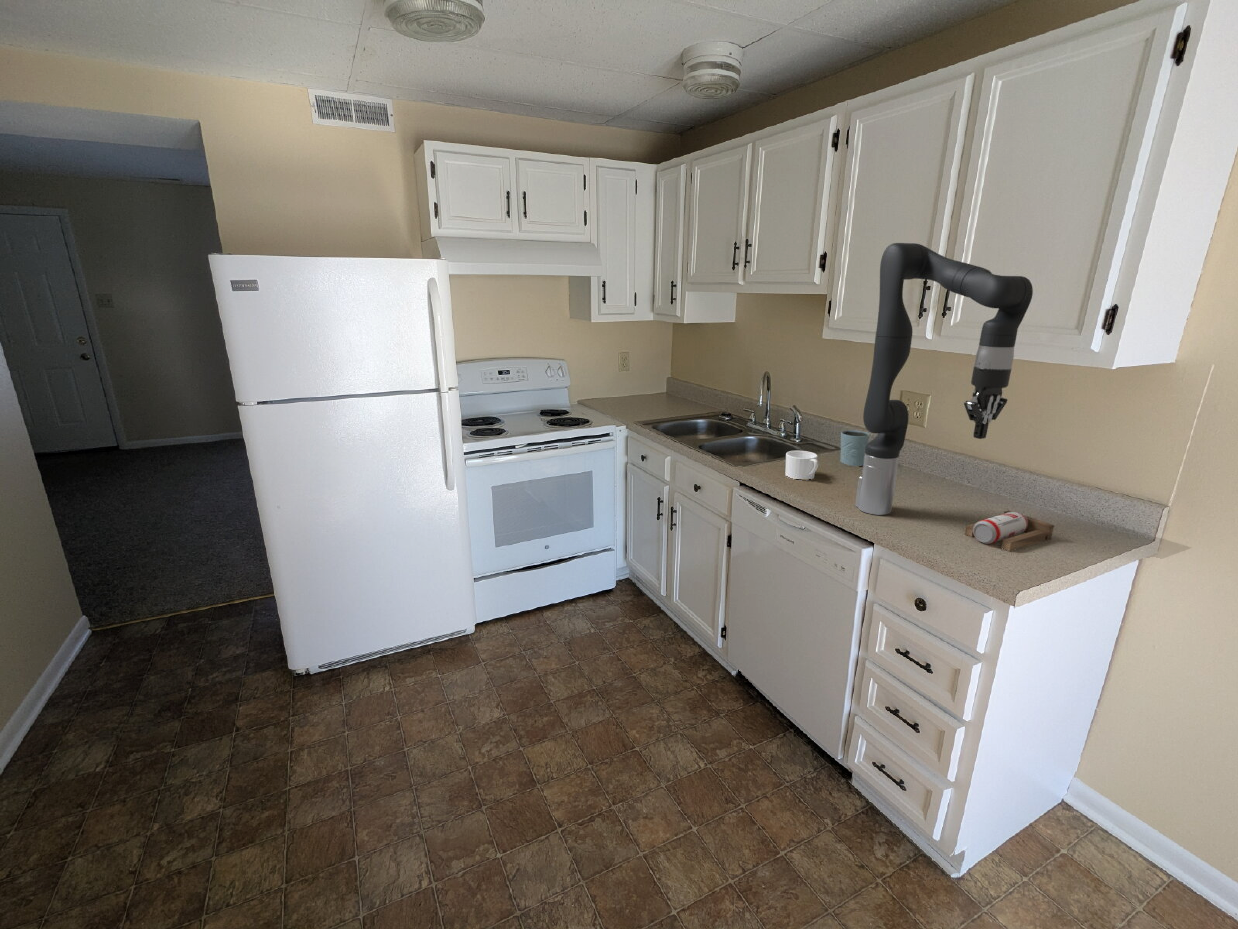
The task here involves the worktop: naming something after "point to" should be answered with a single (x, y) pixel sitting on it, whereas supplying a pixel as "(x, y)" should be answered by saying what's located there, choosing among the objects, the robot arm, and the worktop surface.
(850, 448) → the teal cup
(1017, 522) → the beer can
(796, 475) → the mug
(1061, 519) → the worktop surface
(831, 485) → the worktop surface
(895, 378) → the robot arm
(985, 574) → the worktop surface
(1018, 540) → the cradle
